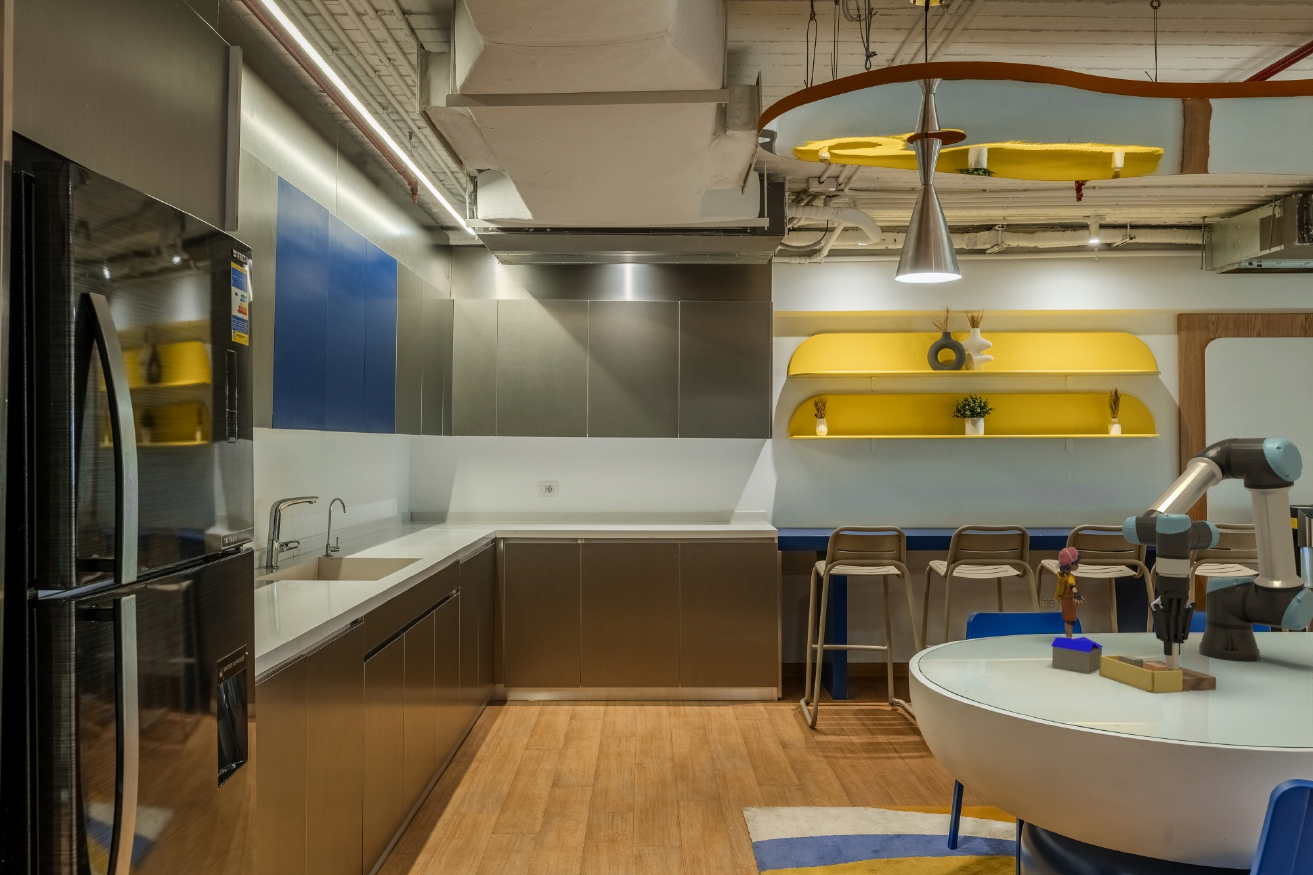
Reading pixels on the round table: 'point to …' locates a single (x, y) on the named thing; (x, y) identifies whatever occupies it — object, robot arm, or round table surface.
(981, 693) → the round table surface
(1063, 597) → the toy
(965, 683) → the round table surface
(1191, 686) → the walnut board
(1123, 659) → the grey square block
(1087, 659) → the house
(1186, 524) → the robot arm
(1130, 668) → the yellow tray
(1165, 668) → the peach block
